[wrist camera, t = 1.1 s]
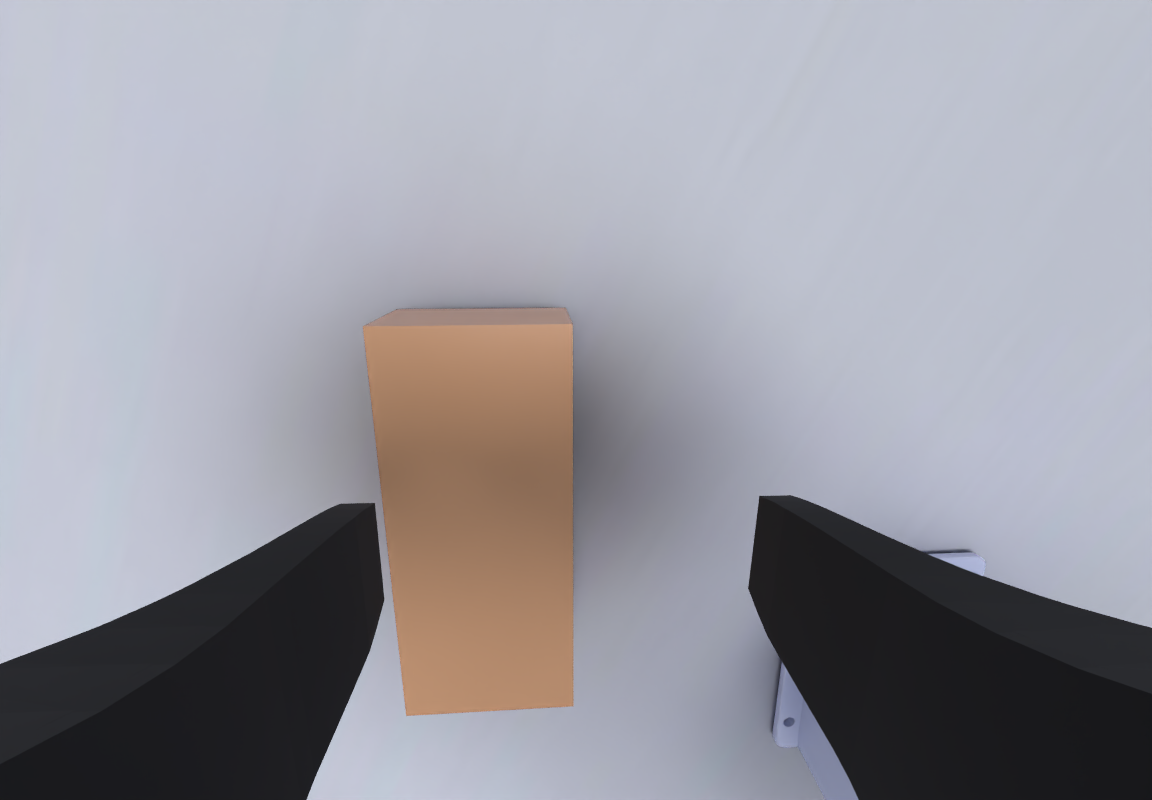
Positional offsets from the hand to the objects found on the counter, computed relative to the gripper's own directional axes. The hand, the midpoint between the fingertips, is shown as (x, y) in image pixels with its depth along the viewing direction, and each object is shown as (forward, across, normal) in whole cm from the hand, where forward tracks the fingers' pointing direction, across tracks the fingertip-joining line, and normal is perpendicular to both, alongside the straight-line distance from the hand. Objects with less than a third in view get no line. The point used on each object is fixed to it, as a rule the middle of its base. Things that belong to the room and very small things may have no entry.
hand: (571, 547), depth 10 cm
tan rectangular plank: (+9, +2, +3) cm, 10 cm away
